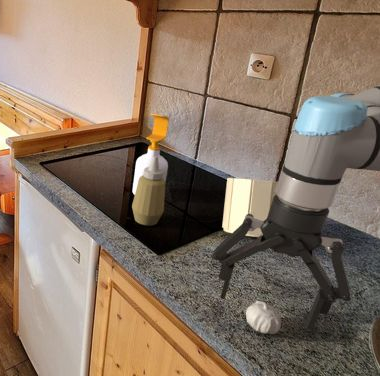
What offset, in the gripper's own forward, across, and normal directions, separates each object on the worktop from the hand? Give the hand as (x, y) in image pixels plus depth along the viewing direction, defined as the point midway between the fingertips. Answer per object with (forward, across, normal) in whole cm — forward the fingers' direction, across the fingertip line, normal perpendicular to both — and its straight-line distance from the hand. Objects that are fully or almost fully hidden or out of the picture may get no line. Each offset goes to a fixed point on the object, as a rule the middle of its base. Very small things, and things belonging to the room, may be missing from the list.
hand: (264, 309), depth 71 cm
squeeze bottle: (+5, +30, -26) cm, 40 cm away
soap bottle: (+5, +35, -42) cm, 55 cm away
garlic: (+4, 0, 0) cm, 4 cm away
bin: (+2, +6, -30) cm, 31 cm away
